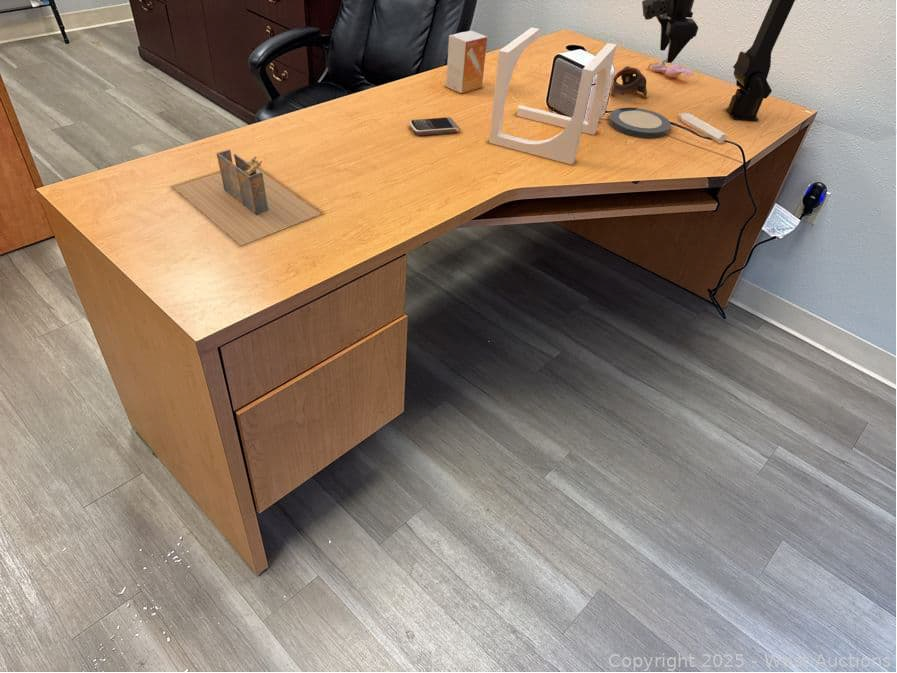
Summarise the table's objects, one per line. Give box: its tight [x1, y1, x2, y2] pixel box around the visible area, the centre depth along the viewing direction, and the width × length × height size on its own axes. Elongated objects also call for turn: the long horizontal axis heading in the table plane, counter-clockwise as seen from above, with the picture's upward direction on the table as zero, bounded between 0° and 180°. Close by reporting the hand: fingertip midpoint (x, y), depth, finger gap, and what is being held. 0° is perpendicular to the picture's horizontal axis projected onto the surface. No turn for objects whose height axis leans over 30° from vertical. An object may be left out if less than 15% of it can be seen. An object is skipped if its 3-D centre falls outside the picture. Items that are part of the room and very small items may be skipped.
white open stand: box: [488, 27, 618, 166], centre depth 135 cm, size 20×20×20 cm
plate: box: [608, 107, 672, 139], centre depth 150 cm, size 15×15×2 cm
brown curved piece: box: [610, 65, 648, 99], centre depth 163 cm, size 12×10×8 cm
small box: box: [445, 29, 488, 94], centre depth 157 cm, size 8×6×13 cm
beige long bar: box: [677, 112, 727, 144], centre depth 150 cm, size 3×2×16 cm
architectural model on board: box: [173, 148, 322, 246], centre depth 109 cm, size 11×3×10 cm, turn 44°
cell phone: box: [409, 116, 460, 136], centre depth 140 cm, size 6×11×1 cm, turn 108°
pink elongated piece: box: [647, 58, 694, 79], centre depth 176 cm, size 6×6×15 cm
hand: (665, 56), depth 148 cm, fingers open, 9 cm apart
